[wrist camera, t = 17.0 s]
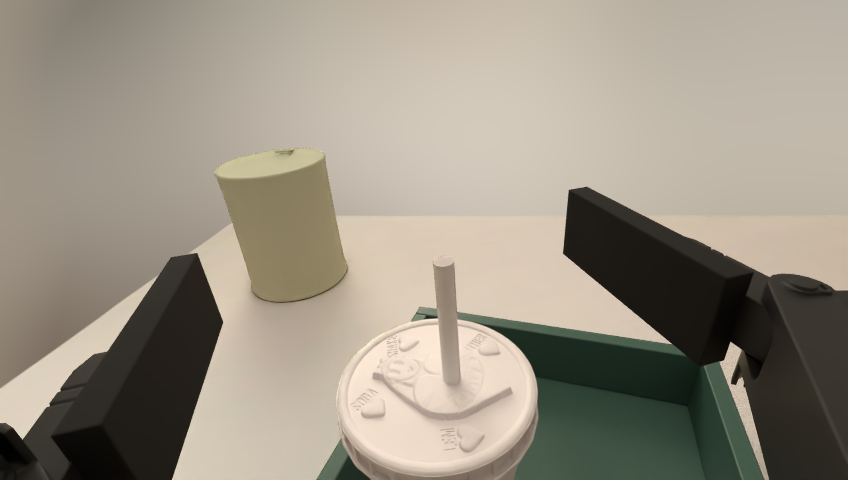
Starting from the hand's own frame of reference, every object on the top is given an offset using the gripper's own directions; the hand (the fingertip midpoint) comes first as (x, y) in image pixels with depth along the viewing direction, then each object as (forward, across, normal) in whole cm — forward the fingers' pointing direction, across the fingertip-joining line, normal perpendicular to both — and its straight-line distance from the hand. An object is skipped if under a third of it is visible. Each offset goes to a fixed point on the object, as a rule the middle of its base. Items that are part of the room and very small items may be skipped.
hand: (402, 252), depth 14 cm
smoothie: (-3, 0, -13) cm, 13 cm away
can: (+24, -7, -13) cm, 28 cm away
